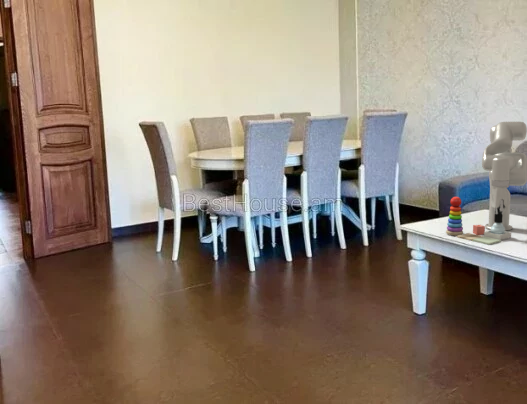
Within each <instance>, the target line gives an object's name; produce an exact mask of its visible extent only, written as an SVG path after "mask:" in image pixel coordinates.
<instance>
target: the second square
mask: <svg viewBox="0 0 527 404" xmlns="http://www.w3.org/2000/svg"><path fill="white" fill-rule="evenodd" d="M501 241H502V240H498V239H493V238H489V237H481V238H477V239H473V241H472V242H475V243H480V244H484V245H489V246H490V245H493V244H497V243H501Z"/></svg>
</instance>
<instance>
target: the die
mask: <svg viewBox="0 0 527 404" xmlns="http://www.w3.org/2000/svg"><path fill="white" fill-rule="evenodd" d="M485 231H486V228H485V225H483V224H473V225H472V234H475V235H480V236H484V232H485Z"/></svg>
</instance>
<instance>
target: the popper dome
mask: <svg viewBox="0 0 527 404" xmlns="http://www.w3.org/2000/svg"><path fill="white" fill-rule="evenodd" d="M491 233H494V234H499V235H500V234H505V227H503V224H502V223H494V224H493V226H491Z"/></svg>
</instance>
